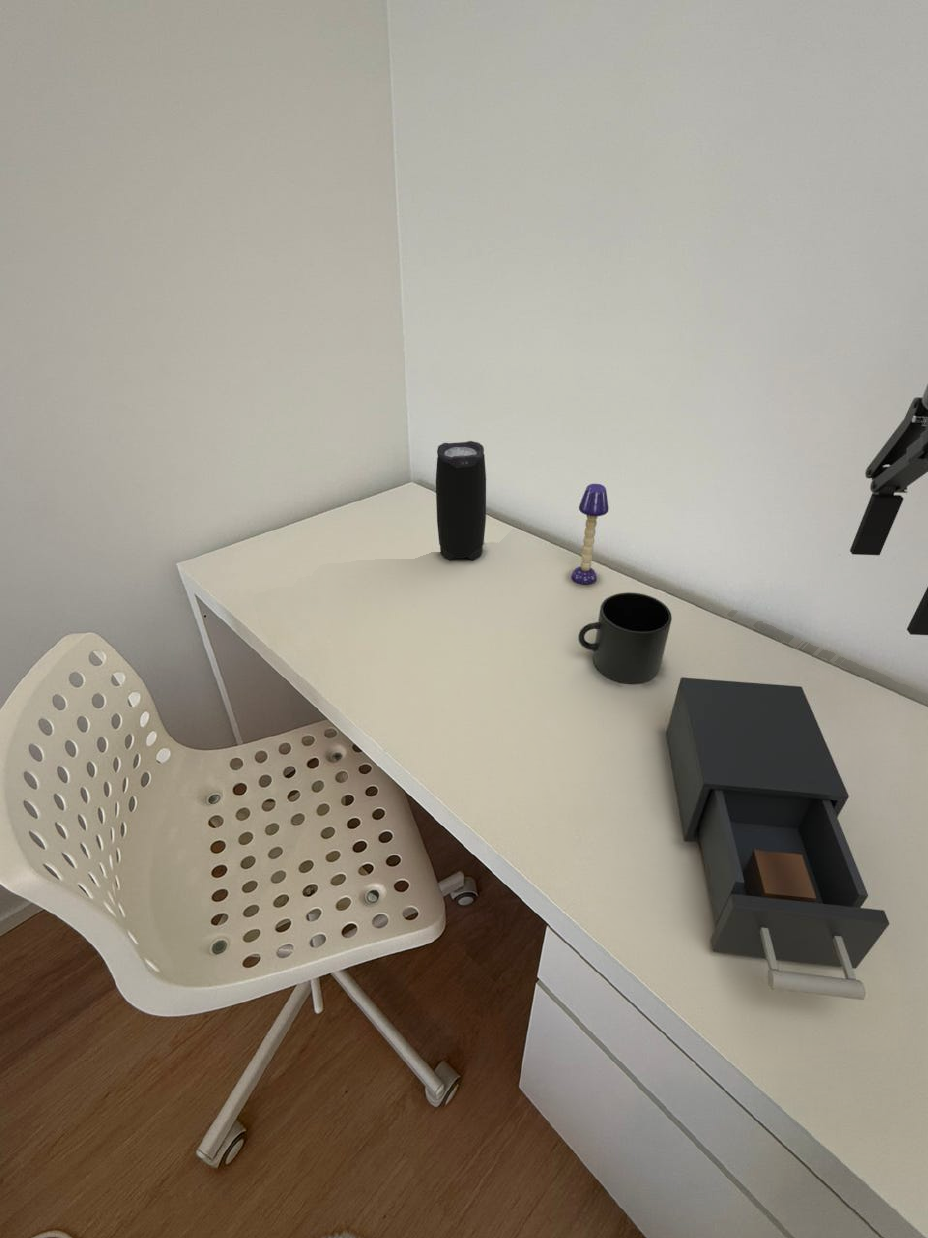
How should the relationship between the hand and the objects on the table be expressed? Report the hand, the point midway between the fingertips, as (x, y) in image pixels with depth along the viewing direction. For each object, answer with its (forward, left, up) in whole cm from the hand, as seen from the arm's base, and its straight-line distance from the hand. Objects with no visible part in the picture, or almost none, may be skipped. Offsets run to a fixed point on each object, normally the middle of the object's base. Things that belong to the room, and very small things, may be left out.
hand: (891, 589), depth 63 cm
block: (+10, +20, -23) cm, 32 cm away
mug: (+22, -16, -25) cm, 37 cm away
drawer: (+10, +20, -24) cm, 33 cm away
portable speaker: (+48, -44, -25) cm, 70 cm away
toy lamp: (+26, -38, -25) cm, 52 cm away
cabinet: (+10, +5, -25) cm, 27 cm away
